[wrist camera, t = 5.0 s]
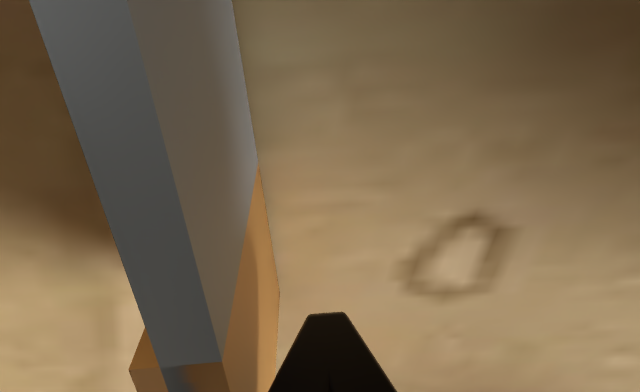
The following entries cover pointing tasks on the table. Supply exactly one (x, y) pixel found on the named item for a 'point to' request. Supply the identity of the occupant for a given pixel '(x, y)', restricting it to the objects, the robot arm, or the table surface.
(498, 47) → the table surface
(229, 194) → the side door
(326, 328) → the robot arm
